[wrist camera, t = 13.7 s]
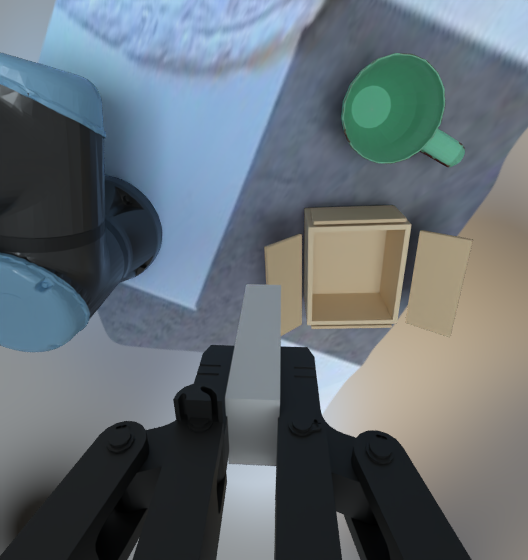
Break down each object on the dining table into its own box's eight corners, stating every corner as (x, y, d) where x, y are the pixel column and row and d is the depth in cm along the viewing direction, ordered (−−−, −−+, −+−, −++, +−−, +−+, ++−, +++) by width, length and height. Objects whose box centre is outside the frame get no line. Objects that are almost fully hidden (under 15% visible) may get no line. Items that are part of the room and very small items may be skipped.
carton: (303, 299, 57) (307, 329, 50) (304, 203, 50) (308, 221, 43) (381, 297, 57) (396, 327, 50) (393, 199, 49) (412, 218, 42)
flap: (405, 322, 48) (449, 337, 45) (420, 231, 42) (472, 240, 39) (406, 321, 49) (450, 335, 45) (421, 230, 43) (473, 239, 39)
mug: (314, 124, 45) (322, 133, 37) (361, 42, 41) (383, 29, 32) (408, 182, 48) (437, 203, 39) (461, 111, 44) (506, 116, 35)
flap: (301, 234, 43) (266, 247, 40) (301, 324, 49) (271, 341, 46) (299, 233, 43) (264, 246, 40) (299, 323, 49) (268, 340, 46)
